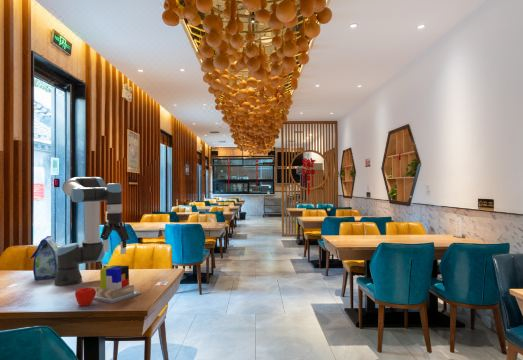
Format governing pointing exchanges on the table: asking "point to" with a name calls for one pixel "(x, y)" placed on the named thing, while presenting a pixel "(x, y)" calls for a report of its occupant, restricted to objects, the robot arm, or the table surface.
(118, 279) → the puzzle toy
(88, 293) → the apple
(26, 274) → the table surface
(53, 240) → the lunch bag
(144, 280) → the table surface
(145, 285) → the table surface
